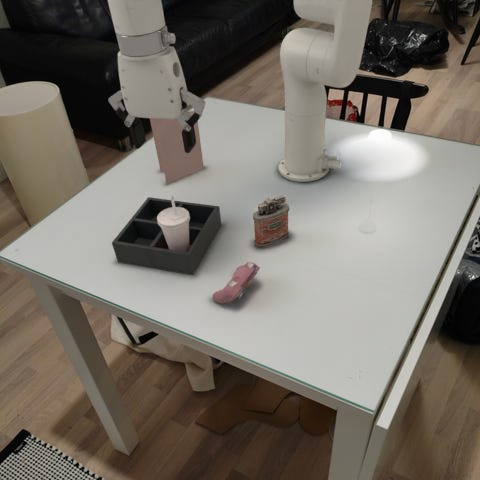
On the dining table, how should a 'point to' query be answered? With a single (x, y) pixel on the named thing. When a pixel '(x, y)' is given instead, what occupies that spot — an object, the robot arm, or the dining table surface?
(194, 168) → the greeting card
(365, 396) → the dining table surface
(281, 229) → the lighter
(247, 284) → the video game controller
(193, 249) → the crate
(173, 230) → the smoothie
